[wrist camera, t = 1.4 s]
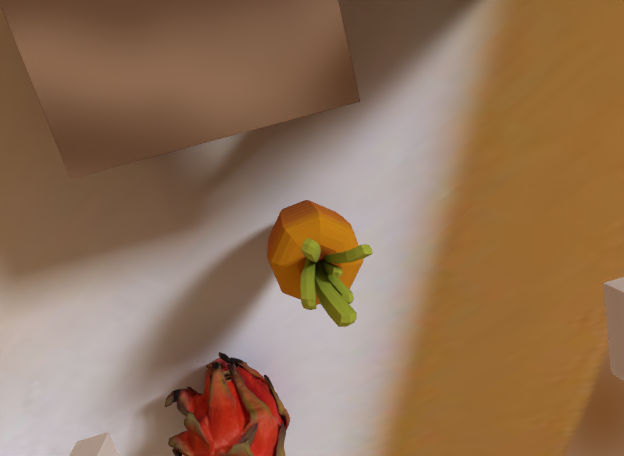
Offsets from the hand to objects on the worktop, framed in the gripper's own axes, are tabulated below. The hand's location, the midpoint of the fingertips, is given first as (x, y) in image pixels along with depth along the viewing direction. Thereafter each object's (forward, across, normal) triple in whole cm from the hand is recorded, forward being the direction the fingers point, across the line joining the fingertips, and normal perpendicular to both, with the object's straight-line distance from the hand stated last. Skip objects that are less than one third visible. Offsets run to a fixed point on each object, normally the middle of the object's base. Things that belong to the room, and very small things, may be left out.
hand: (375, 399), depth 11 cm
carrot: (+22, 0, 0) cm, 22 cm away
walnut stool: (+22, -3, +14) cm, 26 cm away
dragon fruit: (+22, -9, -13) cm, 27 cm away
